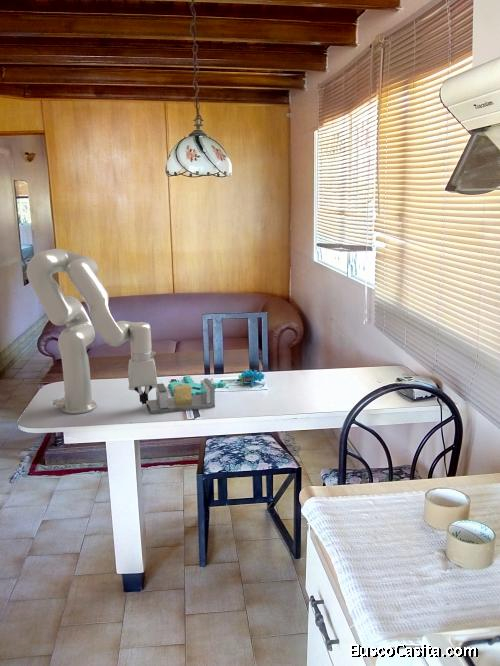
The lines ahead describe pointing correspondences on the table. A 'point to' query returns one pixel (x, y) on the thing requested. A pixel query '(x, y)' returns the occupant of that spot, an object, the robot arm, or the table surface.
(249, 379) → the blue flower cluster
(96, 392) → the table surface
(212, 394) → the vise bed
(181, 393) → the brass block
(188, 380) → the alien figure
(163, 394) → the sliding jaw
